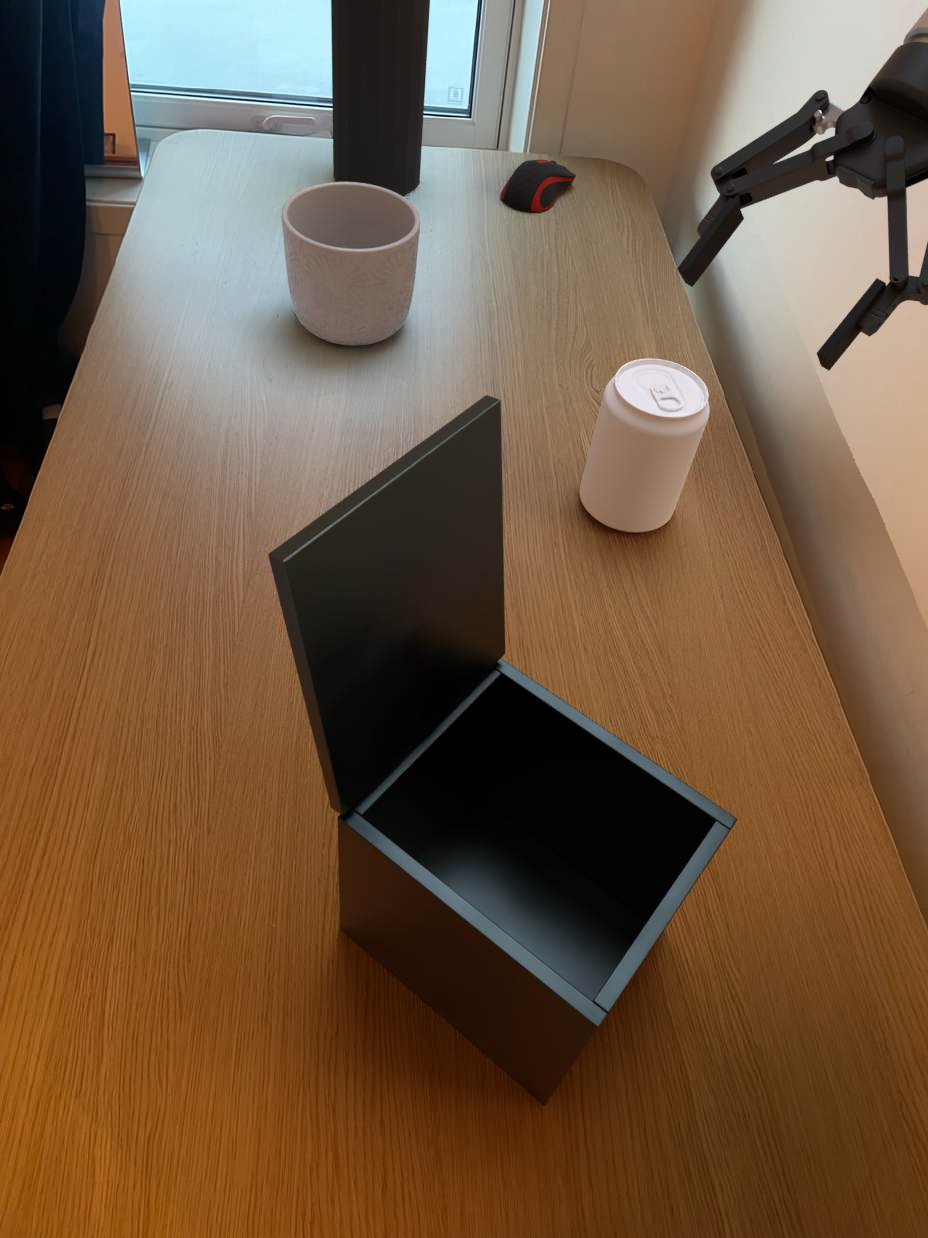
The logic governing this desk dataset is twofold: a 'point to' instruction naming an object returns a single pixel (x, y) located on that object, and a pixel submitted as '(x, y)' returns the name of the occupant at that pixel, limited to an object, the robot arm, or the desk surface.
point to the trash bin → (521, 871)
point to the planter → (350, 260)
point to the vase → (379, 91)
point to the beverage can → (644, 444)
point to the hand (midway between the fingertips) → (750, 318)
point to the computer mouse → (536, 185)
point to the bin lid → (398, 600)
